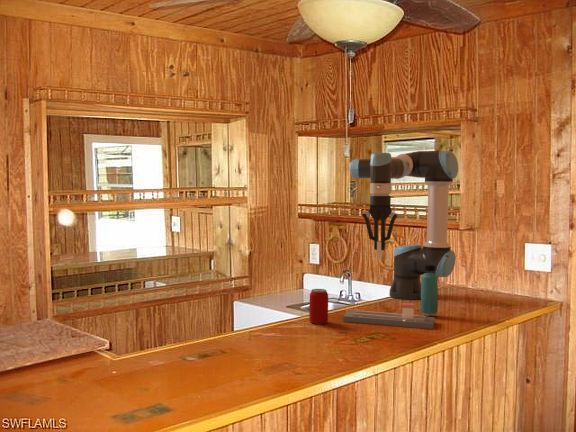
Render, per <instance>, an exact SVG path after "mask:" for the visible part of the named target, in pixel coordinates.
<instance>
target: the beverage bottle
mask: <svg viewBox="0 0 576 432" xmlns="http://www.w3.org/2000/svg"><path fill="white" fill-rule="evenodd" d="M424 270H426V271H435V265H425V267H424ZM420 281H421V299H420V312H421V314H424V315H437V314H438V313H439V311H438V307H439V301H438V300H439V299H438V298H439V291H438V290H439V283H438V282H439V277H438V276H437V275H436V274H434V273H424V274H423V275H420Z"/></svg>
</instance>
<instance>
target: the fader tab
mask: <svg viewBox="0 0 576 432" xmlns="http://www.w3.org/2000/svg"><path fill="white" fill-rule="evenodd" d="M415 308H416V303H412V302H402V303H401V314H402V317H409V318H414V315H415Z"/></svg>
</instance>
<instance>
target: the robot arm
mask: <svg viewBox="0 0 576 432" xmlns="http://www.w3.org/2000/svg"><path fill="white" fill-rule="evenodd" d="M348 168H349V171H348V172H349V173H350V176H351V178H354V179H369V180H370V182H369V194H370V196H369V208H368V211H366V212H364V213H362V218H363V219H364V221H365V225H366V230H367V234H368V238H369V239H370V240H371V241H373V250H375V251H376V260H382V259H383V251H384V250H386V241H389V240H390V239H391V236H392V233H393V228H394V225H395V221H396V219H397V218H398V213H394V211H393V210H392V209H393V208H392V207H391V200H392V199H391V198H392V196H390V195H391V194H392V193H391V191H392V188H391V187H392V184H391V183H392V180H393V179H395V180H396V179H397V180H398V179H402V178H404V177H410V178H419V179H420V178H422V179H423V178H424V183H425V184H426V185H427V190H428V191H427V216H426V217H427V218H426V219H427V221H426V222H427V223H426V241H425V242H424V243H423V245H421V244H407V245H405V244H404V245H398V246H396V247H395V248H394V254H393V280H392V283H391V285H390V289H389V296H390V297H391V298H393V299H399V300H400V299H401V300H421V276H422V275H423V274H424V273H434V274H436V275H437V276H438V278H447V277H449V276H450V275H451V274H452V273H453V270H454V269H455V265H456V253H455V251H453V250H452V249H451V248H452V246H451V245H450V244H449V242H448V230H449V229H448V226H449V225H448V223H449V222H448V220H449V218H448V217H449V195H450V194H449V193H450V191H449V190H450V188H449V187H450V186H451V185H452V183H453V179H455V178H457V177H458V173H459V162H458V159H457V156H456V154H455V153H454V152H453V151H450V150H443V149H442V150H417V151H412V152H407V153H401V154H398V155H396V156H392V154H391V153H390V152H372V154H371V155H370V158H356V159H355V158H354V159H352V160H351V162H350V163H349V167H348ZM389 216H390V218H391V219H390V221H389V226H388V229H387V234H386V224H387V223H386V222H387V221H386V220H387V219H388V218H389ZM370 217H372V219H373V220H374V221H373V225H374V226H373V228H374V231H373V229H372V224H371V220H370ZM379 222H380V223H381V224H380V231H381V232H380V240H379ZM425 265H435V271H426V270H424V267H425Z"/></svg>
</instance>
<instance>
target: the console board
mask: <svg viewBox="0 0 576 432" xmlns="http://www.w3.org/2000/svg"><path fill="white" fill-rule="evenodd" d="M342 318H343V319H342V322H345V323H355V324H367V325H379V326H390V327H391V326H392V327H401V328H413V329H415V328H416V329H424V330H425V329H426V330H434V326H435V323H436V322H435V320H436V317H435V316H434V317H433V316H432V317H431V316H426V315H419V314H414V318H409V317H402V313H394V312H381V311H369V310H368V311H365V310H348V311H347V312H345V314H344V315H343V317H342Z"/></svg>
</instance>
